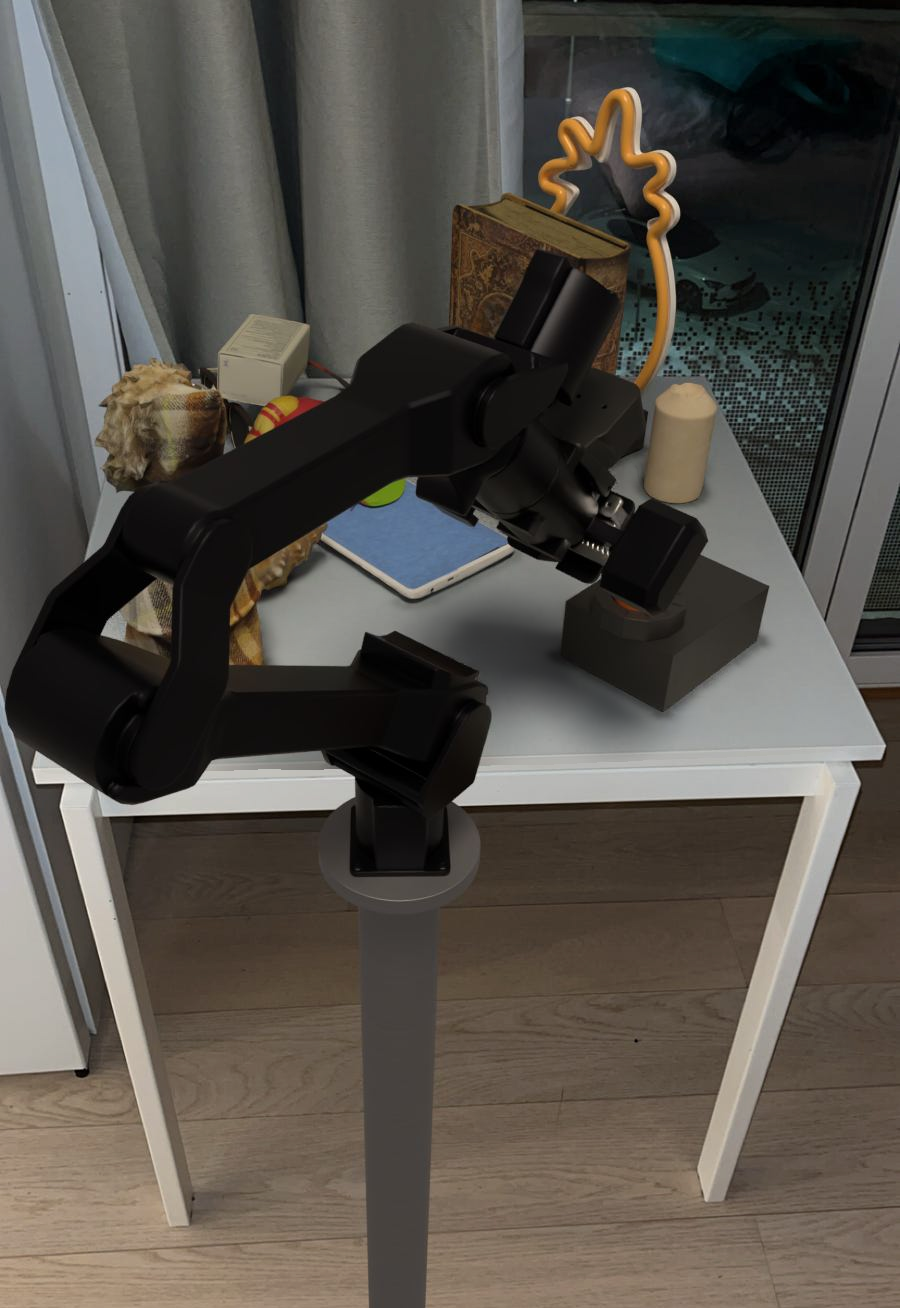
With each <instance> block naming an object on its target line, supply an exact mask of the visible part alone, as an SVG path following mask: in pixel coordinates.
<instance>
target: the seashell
mask: <svg viewBox="0 0 900 1308" xmlns="http://www.w3.org/2000/svg"><path fill="white" fill-rule="evenodd" d="M327 527H328V524H327V522H326V523H325V524H323V525H322V526H320V527H318V528H317V529H315V530H313V531H312V532H310V533H308V534H307V535H305V536H303V537H302V538H300V539H298V540H297V541H295V542H294V543H292V544H290V545H289V546H287V547H285V548H284V549H282V550H280V551H279V552H277V553H275V554H274V555H272V556H270V557H269V558H267V559H266V560H264V561H262V562H261V563H259V564H257V565H256V566H254V567H255V571H256V573H257V575H258V577H259V581H260V583H261V591H263V590H266V591H267V590H268V591H269V590H271V589H273V588H275V587H280V586H281V587H282V586H284V585H285V584H287V582H288V577H289V575H290V574H291V571H292V570H294V567H299V565H302V564H304V563H305V562H306V561H308V560H309V558H310V556H311V553H312V550H313V546H316V545H317V544H318V543H319V542H320V541H321V540H320V539H321V536H322V533H323V532H324V531H326V529H327Z"/></svg>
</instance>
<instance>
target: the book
mask: <svg viewBox="0 0 900 1308" xmlns="http://www.w3.org/2000/svg"><path fill="white" fill-rule="evenodd" d="M451 221H452V222H451V223H452V224H451V253H450V257H451V258H450V280H449V282H450V283H449V307H448V308H449V310H448V311H449V313H448V326H450V325H456V326H459V327H461V328H464V329H467V330H470V331H473V332H476V333H479V334H482V335H485V336H488V337H491V338H493V336H494V334H495V332H496V330H497V328H498V326H499V325H500V323H501V321H502V319H503V317H504V315H505V313H506V311H507V309H508V307H509V305H510V303H511V301H512V299H513V297H514V295H515V293H516V291H517V289H518V287H519V285H520V283H521V281H522V279H523V277H524V274H525V271H526V269H527V267H528V265H529V263H530V261H531V259H532V257H533V255H534V253H535V251H536V250H537V249H542V250H545V251H549V252H552V253H555V254H559V255H562V256H565V257H567V258H568V259H569V261H570V263H571V264H572V266H573V267H575V268H577V269H579V270H580V271H582V272H584V273H586V274H588V275H589V276H591V277H592V278H594V279H595V280H597V281H598V282H599V283H600V284H602V285H603V286H604V287H605V288H607V289H608V290H611V291H613V292H615V293H616V294H617V296H618V297H619V299H620V301H621V304H622V305H621V310H620V312H619V314H618V316H617V318H616V320H615V322H614V324H613V326H612V327H611V329H610V331H609V333H608V335H607V337H606V339H605V341H604V343H603V345H602V347H601V349H600V351H599V353H598V355H597V357H596V359H595V361H594V363H593V365H592V368H597V369H599V370H602V371H605V372H607V373H610V374H612V375H615V376H617V367H618V359H619V351H620V350H619V349H620V342H621V333H622V326H623V317H624V311H625V310H624V309H625V302H626V295H627V294H626V293H627V285H628V278H629V277H628V276H629V269H630V261H631V260H630V259H631V252H632V244H631V243H630V242H627V241H626V240H623V239H621V238H618V237H616V236H614V235H611V234H609V233H606V232H604V231H601V230H599V229H597V228H594V227H592V226H590V225H587V224H586V223H583V222H580V221H577V220H575V219H573V218H570V217H568V216H567V215H565V216H564V215H561V214H559V213H557V212H554V211H552V210H550V208H547V207H545V206H542V205H540V204H538V203H535V202H532V201H530V200H528V199H526V198H523V197H521V196H518V195H516V194H514V193H513V192H505V193H503V194H501V196H500V200H497V201H495V202H491V203H486V204H477V205H466V204H464V203H459V204H455V205H454V207H453V209H452V220H451Z"/></svg>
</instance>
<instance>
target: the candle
mask: <svg viewBox="0 0 900 1308" xmlns="http://www.w3.org/2000/svg"><path fill="white" fill-rule="evenodd" d="M654 404H655V405H654V408H653V416H652V423H651V424H652V425H651V431H650V437H649V444H648V451H647V457H646V464H645V470H644V479H643V489H644V491H645V493H646V494H647V495H648V496H650V497H651V498H652V499H654V500H657V501H659V502H664V503H669V504H686V503H690V502H693V501H695V500H697V499H698V498H699V497H700V496H701V494H702V491H703V486H704V482H705V480H704V479H705V475H706V470H707V465H708V459H709V456H710V455H709V453H710V450H711V444H712V443H711V442H712V437H713V432H714V428H715V427H714V426H715V422H716V421H715V420H716V416H717V411H718V405H717V403H716V401H714V399H713V397H712V396H711V395H710V394H709V393H708V392H707V390H706V389H705V387H704V386H703V385H701V384H696V383H692V382H684V383H682V384H676V383H673V384H672V385H671V386H670V387H669V388H667V389H666V390H665V391H664V392H662V393H661V394H660V395H658V396H657V398H656V399H655V403H654Z"/></svg>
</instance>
